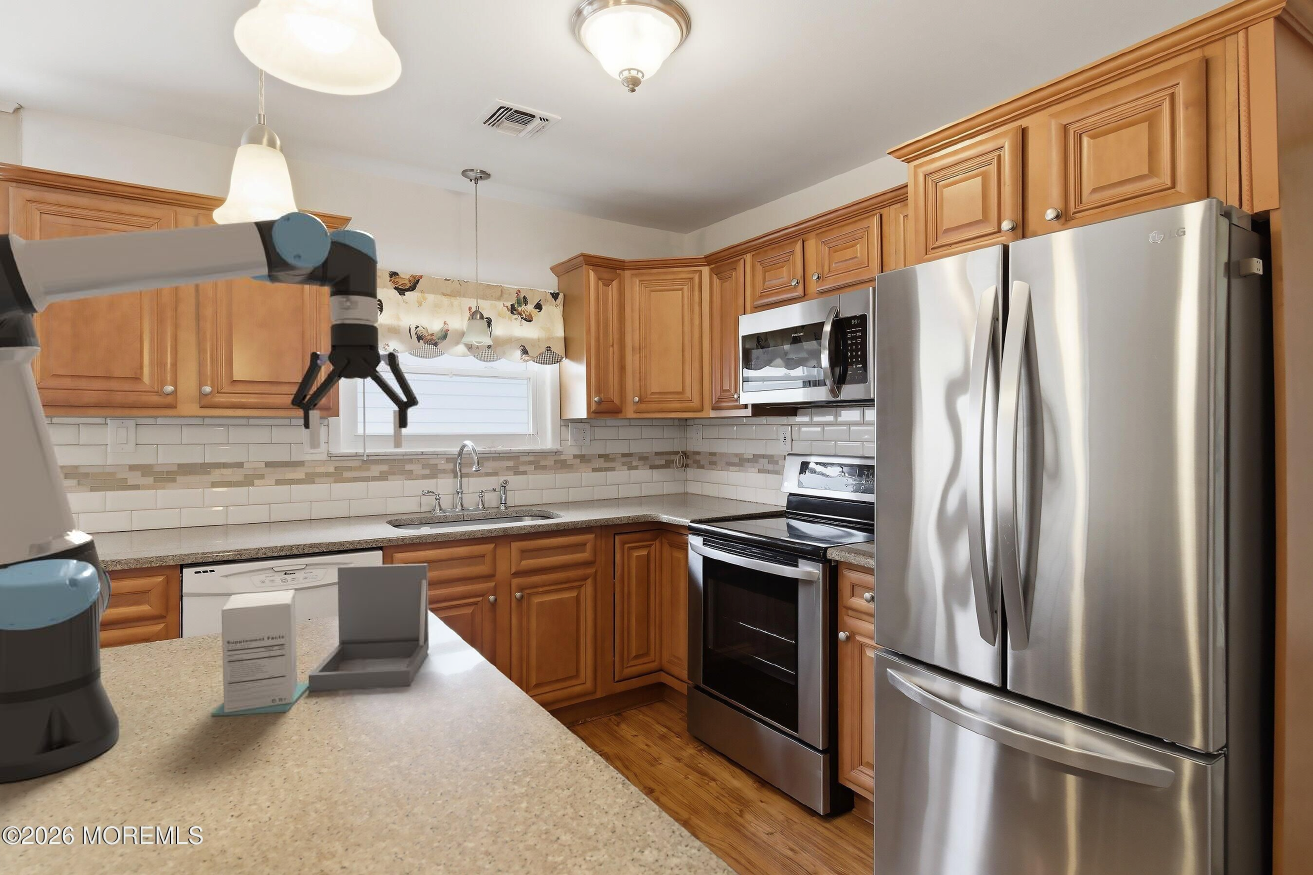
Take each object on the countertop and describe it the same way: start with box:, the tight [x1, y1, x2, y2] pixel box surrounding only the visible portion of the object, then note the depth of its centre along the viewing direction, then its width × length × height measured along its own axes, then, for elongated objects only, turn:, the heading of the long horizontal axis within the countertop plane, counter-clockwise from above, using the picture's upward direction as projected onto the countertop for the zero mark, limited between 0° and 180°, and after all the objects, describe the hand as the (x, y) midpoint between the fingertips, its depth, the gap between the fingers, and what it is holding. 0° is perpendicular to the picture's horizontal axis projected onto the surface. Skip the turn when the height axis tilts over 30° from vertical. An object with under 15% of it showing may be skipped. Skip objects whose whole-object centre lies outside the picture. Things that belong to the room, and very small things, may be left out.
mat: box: [211, 682, 309, 717], centre depth 105 cm, size 10×10×1 cm
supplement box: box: [221, 589, 298, 713], centre depth 105 cm, size 9×9×15 cm
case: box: [308, 563, 430, 692], centre depth 117 cm, size 15×16×16 cm
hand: (356, 448), depth 121 cm, fingers open, 13 cm apart
